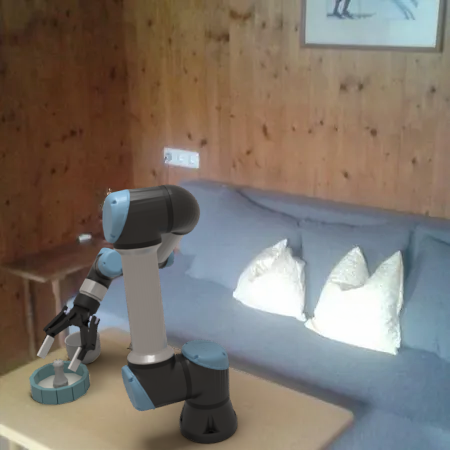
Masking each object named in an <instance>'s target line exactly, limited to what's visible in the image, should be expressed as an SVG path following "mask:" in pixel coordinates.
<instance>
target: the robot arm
mask: <svg viewBox="0 0 450 450" xmlns="http://www.w3.org/2000/svg"><path fill="white" fill-rule="evenodd" d="M200 217H201V209H200V204H199V202H198V200H197V199H196V197H195V195H193V193H192V192H190V191H189V190H187V189H186V188H184V187H182V186H179V185H176V184H167V183H166V184H161V185H154V186H147V187H146V186H145V187H137V188H132V189H131V188H129V189H127V188H126V189H122V190H119V191H114V192H110V193H109V194H108V195H107V196H106V197H105V198H104V202H103V207H102V230H103V236H104V239H105V241H106V242H107V243H110V244H112V248H113V249H112V248H109V247H102V248H101V249H100V251H99V252H98V253H97V255H96V256H95V260H94V262H93V263H92V265H91V267H90V269H89V271H88V273H87V276H86V277H85V278H84V281H83V282H82V284H81V286H80V288H79V292H78V293H77V294H76V296H75V298H74V299H73V302H72V305H73V306H72V308H71V307H69V306H67V305H63V307H62V309H61V310H60V312H59V313H58V314H56V315H55V316H54V318H53V319H51V320H50V321H49V322H48V323H47V324H46V326H44V327H43V329H42V330H43V332H45V336H44V339H43V340H42V342H41V346H40V348H39V350H38V351H37V354H36V356H38V357H40V358H41V359H43V360H45V358H46V357H47V355H48V353H49V351H50V349H51V348H52V345H53V344H54V341H55V339H56V338H55V336H57V335H59V334H60V333H61V332H63V331H64V330H66V329H68V328H69V327H73V326H74V327H77V328H79V331H80V337H81V346H80V347H81V348H80V347H78V349H77V351H76V353H75V355H74V357H73V359H72V361H71V360H70V361H71V363H70V365H69V367H68V369H70V370H72V371H74V372H76V370H77V368H78V366H79V364H80V362H81V361H83V359H84V357H85V355H86V353H87V352H88V351H89V350H93V351H94V350H95V348H96V339H97V332H98V329H99V328H98V327H99V324H100V321H101V319H100V317H98V316H96V315H95V314H97V312H98V311H99V308H100V306H101V302H103V300H104V299H105V296H106V295H107V293H108V291H109V288H110V287H111V284H112V282H113V281H114V279H115V278H116V277H122V276H123V278H122V279H123V284H124V292H125V293H124V294H125V299H126V301H125V302H126V308H127V317H128V325H129V333H130V334H129V335H130V343H131V342H132V351H131V350H130V351H129V353H128V355H127V357H126V360H127V364H125V365H123V366H122V367H121V378H122V381H123V385H124V389H125V391H126V393H127V398H128V399H129V401H130V403H131V405H132V407H133V408H134V409H135V410H136V411H138V412H145V411H150V410H153V411H154V410H156V409H159V408H162V407H166V406H169V405H173V404H177V403H179V402H180V403H181V402H183V405H182V409H181V411H180V415H179V418H178V419H179V420H178V421H179V424H178V425H179V431H180V434H181V435H183V437H185V438H186V439H188V440H189V441H192V442H195V443H201V444H212V443H218V442H221V441H224V440H226V439H229V438H230V437H231V436H233V435H234V434H235V432H236V431H237V428H238V415H237V413H236V411H235V409H234V406H233V403H232V400H231V398H230V397H231V396H230V363H229V362H230V361H229V356H228V355H229V354H228V351H227V349H226V348H225V347H224V345H222V344H221V343H218V342H216V341H214V340H213V341H212V340H209V339H193V340H188V341H187V342H185V343H184V344H183V345H182V346H181V349H180V352H179V353H176V352H175V349H174V348H173V347H172V346H170V345H168V340H167V339H168V338H167V331H166V320H165V313H164V304H163V294H162V288H161V279H160V278H161V277H160V270H161V269H162V270H163V269H165V268H168V267H172V266H173V264H174V262H175V261H174V260H175V253H174V250H175V248H176V247H177V246H178V244H179V243H180V241H181V240H182V239H183V237H184V236H185V235H188V234H190V233H191V232H192V231H193V230H194V229H195V228H196V226H197V225H198V223H199V221H200ZM88 330H89V332H88Z"/></svg>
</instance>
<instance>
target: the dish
mask: <svg viewBox="0 0 450 450" xmlns="http://www.w3.org/2000/svg"><path fill="white" fill-rule="evenodd" d="M62 361H63V362H64V365H63V367H64V369H63V371H64V375H65V376H66V378H67V379H68V385H67V386H64V387H60V388H54V387H53V380H54V378H55V371H54V366H53V363H54V361H53V362H49V363H47V364H44V365H42V366H40V367H38V368H37V369H35V370H34V371H33V372H32V374H31V375H30V376H28V377H29V378H28V379H29V387H30V393H31V397H32V399H33V401H36V402H38V403H40V404H42V405H54V406H58V405H62V404H67V403H71V402H74V401H76V400H78V399H79V398H82V397H83V396H84V395H86V394H87V393H88V391H89V389H90V387H91V379H90V371H89V369H88V366H87V364H82V363H80V364H79V366H78V368H77V370H76V372H74V371H72V370H70V369H68V367H69V365H70V363H71V360H62Z"/></svg>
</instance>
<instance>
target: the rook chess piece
mask: <svg viewBox="0 0 450 450" xmlns="http://www.w3.org/2000/svg"><path fill="white" fill-rule="evenodd" d="M63 361H64V360H63V359H61V358H59V359H58V358H57V359H55V360H53V362H54V363H53V362H52V363H53V366H54V371H55V378H54V380H53V387H54V388H60V387H64V386H67V385H68V379H67V378H66V376H65V375H64V371H63V369H64V367H63V365H64V362H63Z"/></svg>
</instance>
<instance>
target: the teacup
mask: <svg viewBox="0 0 450 450" xmlns="http://www.w3.org/2000/svg"><path fill="white" fill-rule="evenodd" d="M88 332H89V330H88ZM64 344H65V349H66V353H67V357H68V358H69V361H72V359H73V357H74V355H75V353H76V351H77V349H78V347H80V346H81V337H80V330H77V331H74V332H72V333H70V334H68V335H66V337H65V338H64ZM101 344H102V343H101V339H100V333H99V332H98V331H97V339H96V348H95V350H94V351H93V350H89V351H88V352H87V353H86V355H85V357H84V359H83V361H81V362H80V363H82V364H84V365H87V364H90V363H92V362H93V363H94V362H95V360H97V358H99V356H100V355H101V352H102V351H101V350H102V347H101ZM80 348H81V347H80Z"/></svg>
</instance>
